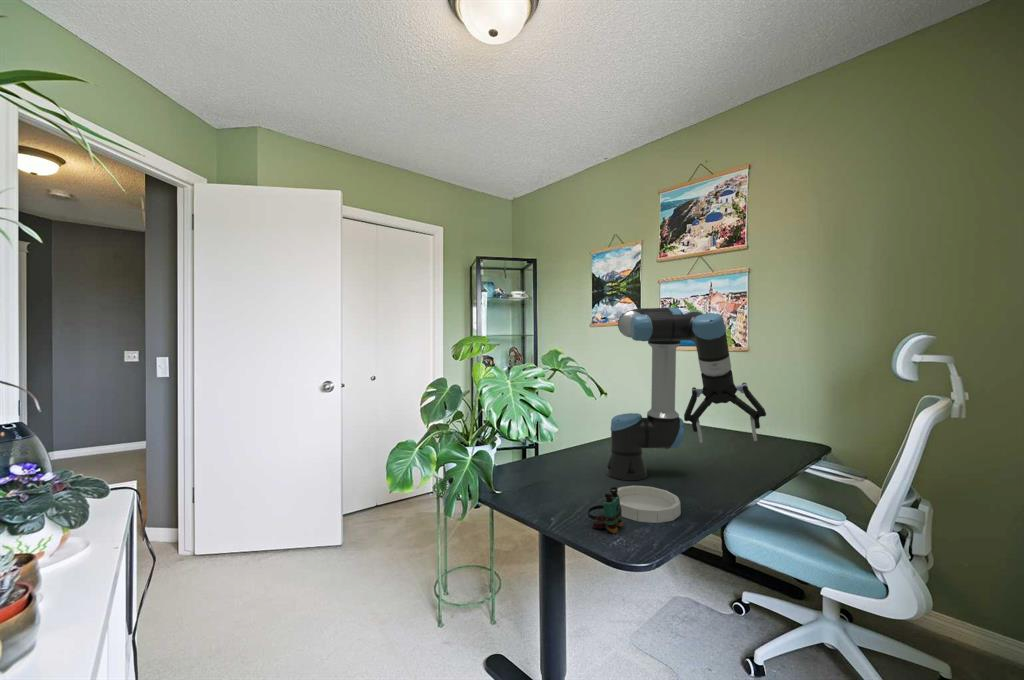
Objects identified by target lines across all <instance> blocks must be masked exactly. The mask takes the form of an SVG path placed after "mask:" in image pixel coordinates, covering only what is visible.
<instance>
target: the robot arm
mask: <svg viewBox="0 0 1024 680" xmlns="http://www.w3.org/2000/svg"><path fill="white" fill-rule="evenodd" d="M617 322H618V323H617V327H618V331H619V332H620V333H621V334H622V335H623V336H624V337H627V338H631V339H632V340H633V341H635V342H647V344H648V345H649V346H650V347H651V399H650V400H651V403H650V404H651V407H650V409H649V410H648V411H647V413H646V417H643V416H642V414H641V413H637V412H635V413H633V412H628V413H627V412H626V413H621V414H617V415H615V416H613V417H612V418H611V422H610V444H611V445H610V448H611V449H610V450H611V451H610V457H609V460H608V463H607V467H606V474H607V476H609V477H610V476H611V477H610V478H613V479H616V478H617V479H616V480H620V479H621V480H620V481H632V482H633V481H640V480H645V479H646V478H647V477H648V469H647V467H646V463H645V461H644V458H643V449H662V450H663V449H664V450H670V449H678V448H679V447H681V446H682V444H683V441H684V437H685V423H684V421H685V422H690V423H691V426H692V427H691V428H692V431H693V432H694V433H695V432H697V436H698V439H699V444H703V441H704V440H703V434H702V428H701V424H700V418H701V416H702V415H703V413H705V411H706V410H707V408H708V407H710V406H711V405H712V404H714V405H718V404H727V403H729V402H730V403H732V404H733V405H735V406H737V407H738V408H739V409H741V410H742V411H744V413H746V414H748V415H749V419H750V427H751V432H752V433H751V434H752V438H753V442H757V441H758V438H757V436H758V435H757V430H758V429H760V428H761V424H760V418H761V417H766V416H767V412H766V410H765V408H764V407H763V405H762V404H761V403H760V402H759V400H757V398H756V397H755V395H753V394H752V392H751V391H750V390H749V387H748V384H747V382H742V384H739V385H735V383H734V377H733V371H732V364H731V358H730V351H729V344H728V338H727V327H726V324H725V320H724V317H723V316H722V315H721V314H720V313H714V312H709V313H708V312H707V313H702V312H700V311H697V310H690V311H687V312H683V311H682V310H681V309H679V307H678V308H677V307H651V308H649V307H647V308H646V307H645V308H644V307H643V308H639V307H638V308H634V309H631V310H628V311H625V312H623V313H622V314H621V315H620V317H619V318H618V321H617ZM681 341H684V342H685V341H692V343H694V344H695V348H696V352H697V353H696V354H697V357H698V358H697V359H698V364H699V371H700V373H701V374H700V375H701V381H702V388H697V387H695V386H693V387H692V388H691V396H690V399H689V402H688V404H687V406H686V409H685V411H684V415H683V419H682V418H681V417H680V413H678V412H677V411H676V378H677V377H676V376H677V375H676V374H677V373H676V371H677V370H676V369H677V348H678V347H679V346H681V343H682V342H681ZM737 392H739V393H741V394H744V396H745V397H746V398H747V400H748V401H749V402H750V403H751V405H752V406H751V405H749V404H748V403H746V402H745V401H743V400H742V399H741V398H739V397H738V395H736V393H737ZM701 395H703V396H704V398H703V401H702V402H700V404H699V405H698V407H697V408H696V409H695V411H694V408H695V405H696V403H697V400H698V398H700V396H701ZM753 407H754V408H753ZM693 411H694V412H693ZM692 412H693V413H692Z"/></svg>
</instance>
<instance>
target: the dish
mask: <svg viewBox="0 0 1024 680" xmlns="http://www.w3.org/2000/svg"><path fill="white" fill-rule="evenodd" d="M617 488H618V492H617V495H619V499H620V506H621V507H622V509H621V510H622V513H621V514H622V516H621V518H622V517H623V518H625V519H628V520H632V521H635V522H639V523H640V522H641V523H653V524H661V523H666V522H667V523H668V522H673V521H675V520H676V519H677V518H678V517H680V516H681V510H682V509H681V501H680V499H679V497H678V496H677V495H676V494H674V493H672V492H670V491H668V490H666V489H662V488H658V487H653V486H646V485H645V486H644V485H628V486H620V487H617Z"/></svg>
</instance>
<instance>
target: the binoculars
mask: <svg viewBox="0 0 1024 680" xmlns="http://www.w3.org/2000/svg"><path fill="white" fill-rule="evenodd" d="M618 488H619V487H617V486H612V487H610V488H609V491H610V493H604V497H605V500H604V501H603V503H602V505H601V504H599V505H594V506H591V507H589V508H588V510H587V516H588V518H589V519H591V520H595V521H593V522H592V528H594V529H606V530H607V531H608V532H609V533H613V534H616V533H618V527H623V520H622V519H621V518H622V514H621V513H622V510H621V509H622V507H621V506H620V499H619V495H617V492H618ZM602 509H603V514H601V513H600V514H599V515H593V514H591V512H592V511H595V510H602Z"/></svg>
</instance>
